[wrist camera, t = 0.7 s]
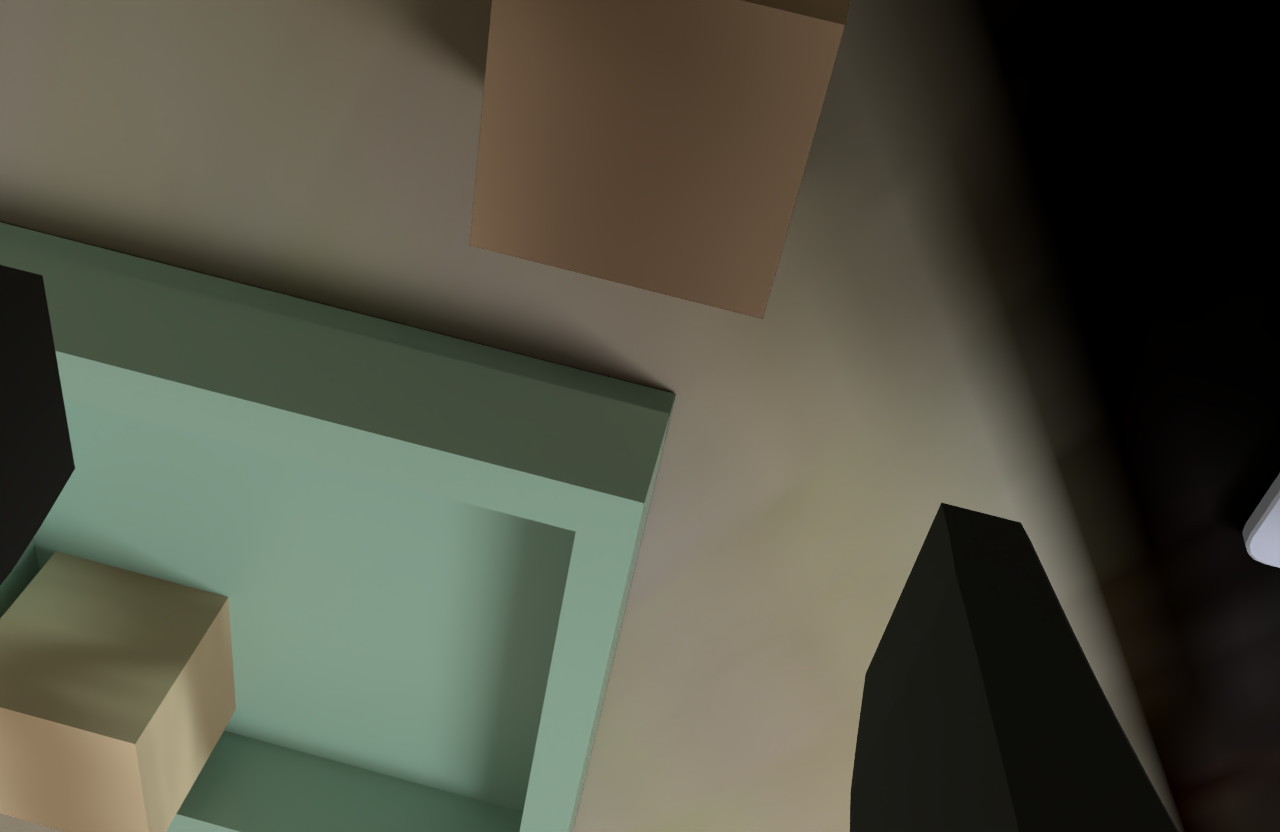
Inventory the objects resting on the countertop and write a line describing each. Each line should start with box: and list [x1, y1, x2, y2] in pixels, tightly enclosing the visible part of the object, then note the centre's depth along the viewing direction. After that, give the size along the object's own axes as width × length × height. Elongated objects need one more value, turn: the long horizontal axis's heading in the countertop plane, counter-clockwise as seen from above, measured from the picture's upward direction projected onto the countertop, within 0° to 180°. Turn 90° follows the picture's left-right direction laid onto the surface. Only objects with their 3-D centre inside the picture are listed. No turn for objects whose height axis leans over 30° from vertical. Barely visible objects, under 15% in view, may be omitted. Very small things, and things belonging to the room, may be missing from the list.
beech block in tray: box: [0, 551, 236, 832], centre depth 27 cm, size 4×4×4 cm
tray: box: [0, 222, 676, 832], centre depth 25 cm, size 14×14×3 cm
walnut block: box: [470, 0, 850, 319], centre depth 16 cm, size 4×4×4 cm
